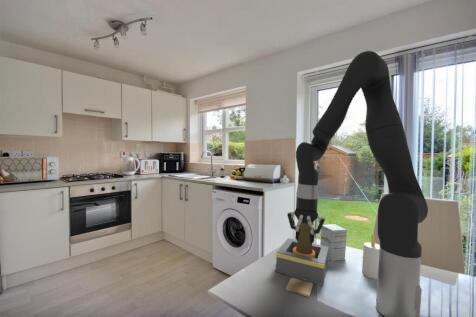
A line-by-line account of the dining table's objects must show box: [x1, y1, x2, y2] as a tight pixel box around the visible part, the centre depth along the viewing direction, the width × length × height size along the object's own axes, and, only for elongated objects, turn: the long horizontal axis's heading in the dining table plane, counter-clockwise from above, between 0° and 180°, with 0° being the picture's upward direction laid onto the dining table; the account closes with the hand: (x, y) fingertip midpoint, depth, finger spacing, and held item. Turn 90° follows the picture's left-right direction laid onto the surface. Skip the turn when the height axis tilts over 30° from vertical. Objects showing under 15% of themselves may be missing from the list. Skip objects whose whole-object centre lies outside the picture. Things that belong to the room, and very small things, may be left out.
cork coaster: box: [285, 276, 314, 298], centre depth 72 cm, size 7×7×1 cm
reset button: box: [293, 247, 315, 258], centre depth 85 cm, size 8×8×3 cm
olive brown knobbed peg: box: [296, 222, 313, 254], centre depth 85 cm, size 6×6×11 cm
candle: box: [361, 233, 380, 280], centre depth 83 cm, size 6×6×15 cm
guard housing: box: [275, 237, 329, 286], centre depth 85 cm, size 16×17×7 cm
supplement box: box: [319, 223, 348, 262], centre depth 96 cm, size 7×7×13 cm
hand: (304, 241), depth 85 cm, fingers closed on olive brown knobbed peg, 4 cm apart
